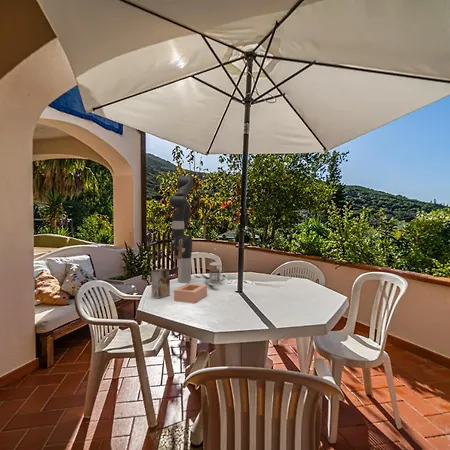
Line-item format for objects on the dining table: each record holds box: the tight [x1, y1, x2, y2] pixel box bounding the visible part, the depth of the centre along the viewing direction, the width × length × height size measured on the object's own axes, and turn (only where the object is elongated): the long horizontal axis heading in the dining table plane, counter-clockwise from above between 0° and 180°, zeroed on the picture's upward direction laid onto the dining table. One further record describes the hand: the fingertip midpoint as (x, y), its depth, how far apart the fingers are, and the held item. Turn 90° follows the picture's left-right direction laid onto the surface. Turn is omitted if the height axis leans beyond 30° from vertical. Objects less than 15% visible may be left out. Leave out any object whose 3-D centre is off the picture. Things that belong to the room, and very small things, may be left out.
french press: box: [207, 247, 225, 286], centre depth 223 cm, size 10×12×25 cm
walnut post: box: [173, 243, 183, 260], centre depth 200 cm, size 4×4×10 cm
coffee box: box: [150, 267, 171, 299], centre depth 189 cm, size 9×6×16 cm
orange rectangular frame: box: [173, 282, 208, 304], centre depth 187 cm, size 18×13×6 cm
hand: (178, 255), depth 200 cm, fingers closed on walnut post, 4 cm apart
